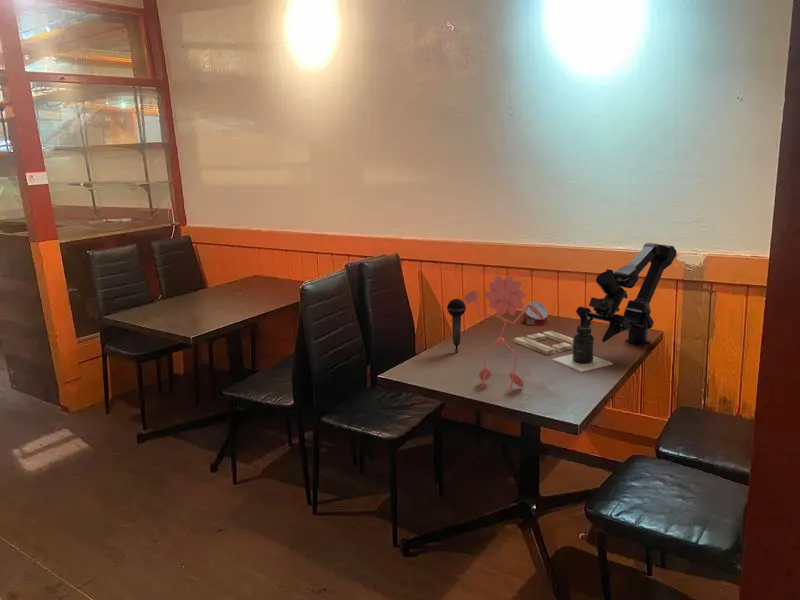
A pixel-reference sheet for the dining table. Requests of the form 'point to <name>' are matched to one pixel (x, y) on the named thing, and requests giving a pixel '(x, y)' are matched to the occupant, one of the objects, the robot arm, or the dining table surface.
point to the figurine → (504, 299)
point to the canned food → (531, 317)
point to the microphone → (456, 319)
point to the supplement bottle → (583, 345)
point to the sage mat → (580, 367)
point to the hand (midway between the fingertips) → (591, 338)
